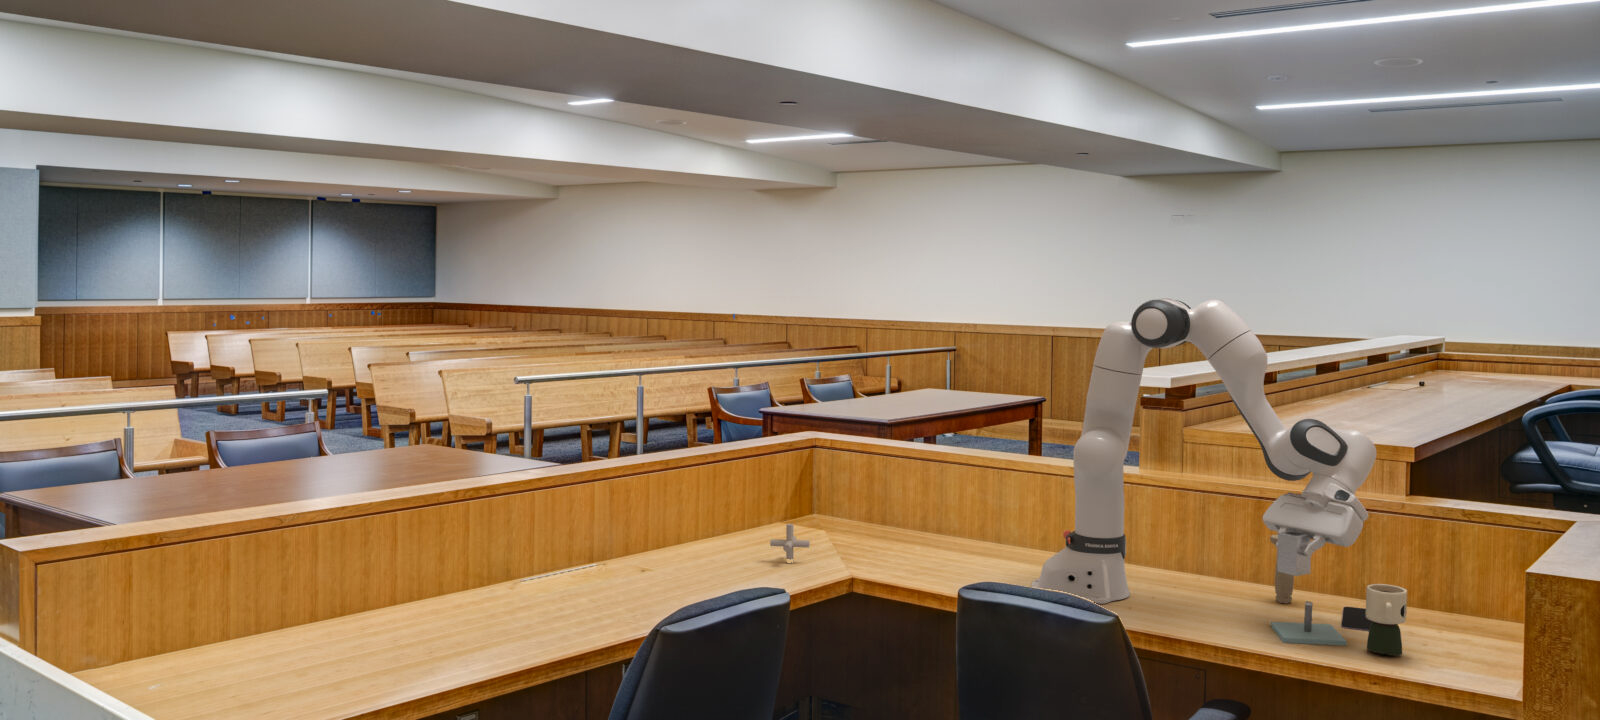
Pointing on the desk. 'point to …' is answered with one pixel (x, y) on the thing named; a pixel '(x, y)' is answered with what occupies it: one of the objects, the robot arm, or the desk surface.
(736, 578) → the desk surface
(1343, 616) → the smartphone
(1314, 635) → the post base
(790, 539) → the pipe connector
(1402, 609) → the character mug
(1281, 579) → the handle
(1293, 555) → the grey hollow box
